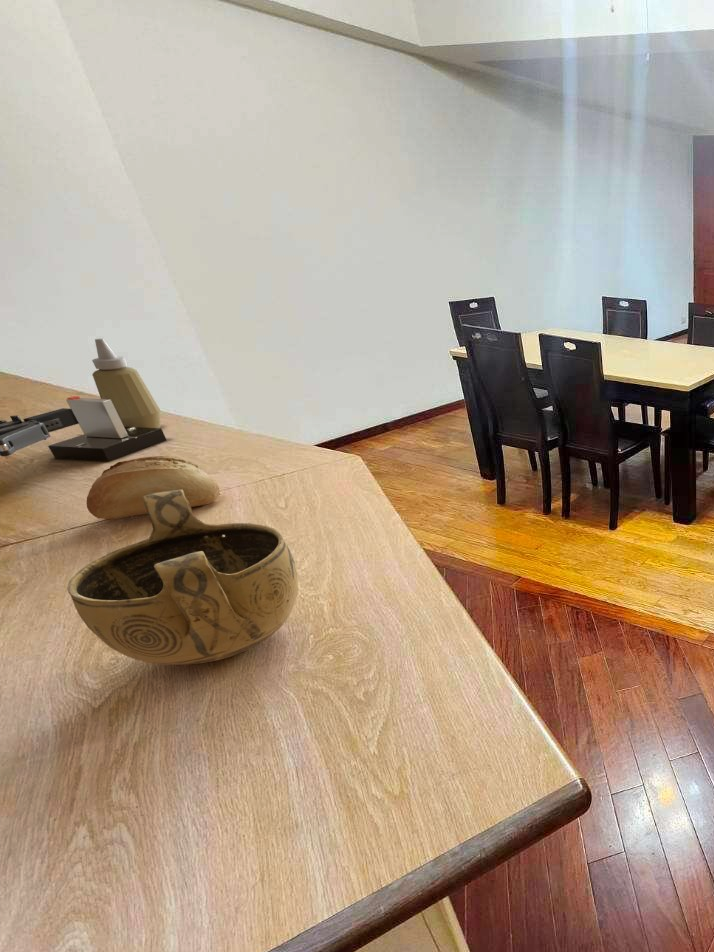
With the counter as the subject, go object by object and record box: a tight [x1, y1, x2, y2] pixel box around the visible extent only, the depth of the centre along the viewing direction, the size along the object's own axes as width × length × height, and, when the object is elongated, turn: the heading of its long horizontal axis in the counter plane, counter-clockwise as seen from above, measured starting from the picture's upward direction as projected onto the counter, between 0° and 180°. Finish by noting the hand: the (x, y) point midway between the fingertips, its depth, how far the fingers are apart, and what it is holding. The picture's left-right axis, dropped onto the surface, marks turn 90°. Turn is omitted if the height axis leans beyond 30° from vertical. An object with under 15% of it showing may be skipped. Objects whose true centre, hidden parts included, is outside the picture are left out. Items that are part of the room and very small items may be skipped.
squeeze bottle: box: [91, 338, 162, 428], centre depth 118 cm, size 8×8×18 cm
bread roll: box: [86, 455, 221, 520], centre depth 90 cm, size 10×15×8 cm, turn 132°
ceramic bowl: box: [66, 490, 299, 666], centre depth 61 cm, size 22×17×15 cm
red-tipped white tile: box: [65, 395, 128, 439], centre depth 109 cm, size 7×2×7 cm, turn 86°
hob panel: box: [47, 426, 167, 462], centre depth 112 cm, size 12×11×3 cm
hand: (70, 415), depth 105 cm, fingers closed
